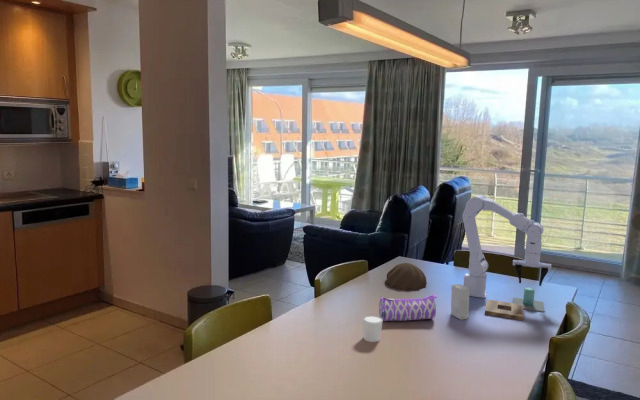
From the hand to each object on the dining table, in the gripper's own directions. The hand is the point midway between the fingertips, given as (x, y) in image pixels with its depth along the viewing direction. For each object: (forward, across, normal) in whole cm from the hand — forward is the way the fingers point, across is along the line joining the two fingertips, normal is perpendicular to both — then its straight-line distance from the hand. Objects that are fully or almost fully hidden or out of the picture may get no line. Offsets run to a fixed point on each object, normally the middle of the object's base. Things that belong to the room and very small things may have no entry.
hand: (529, 283), depth 196 cm
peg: (+9, 0, 0) cm, 9 cm away
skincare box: (+10, -25, -26) cm, 37 cm away
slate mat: (+9, 0, 0) cm, 9 cm away
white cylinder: (+10, -50, -60) cm, 79 cm away
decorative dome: (+10, -53, +5) cm, 54 cm away
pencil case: (+10, -43, -37) cm, 58 cm away
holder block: (+9, -9, -12) cm, 18 cm away
